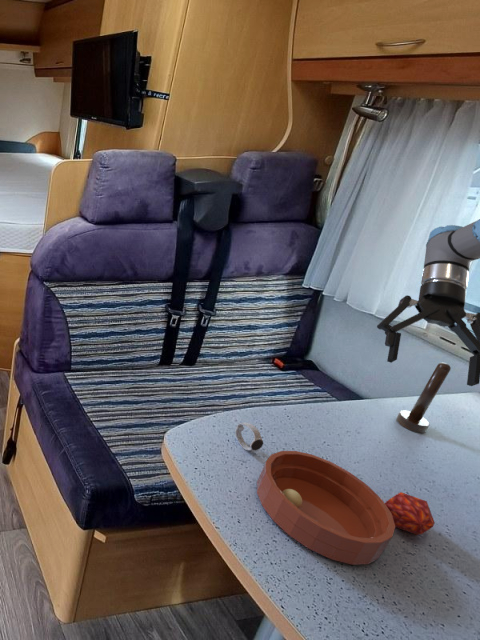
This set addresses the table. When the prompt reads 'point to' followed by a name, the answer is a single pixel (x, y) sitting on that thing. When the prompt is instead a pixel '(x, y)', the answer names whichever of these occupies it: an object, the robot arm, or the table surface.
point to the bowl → (325, 507)
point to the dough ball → (293, 497)
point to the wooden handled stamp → (424, 401)
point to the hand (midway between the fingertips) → (431, 372)
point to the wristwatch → (256, 441)
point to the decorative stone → (410, 513)
